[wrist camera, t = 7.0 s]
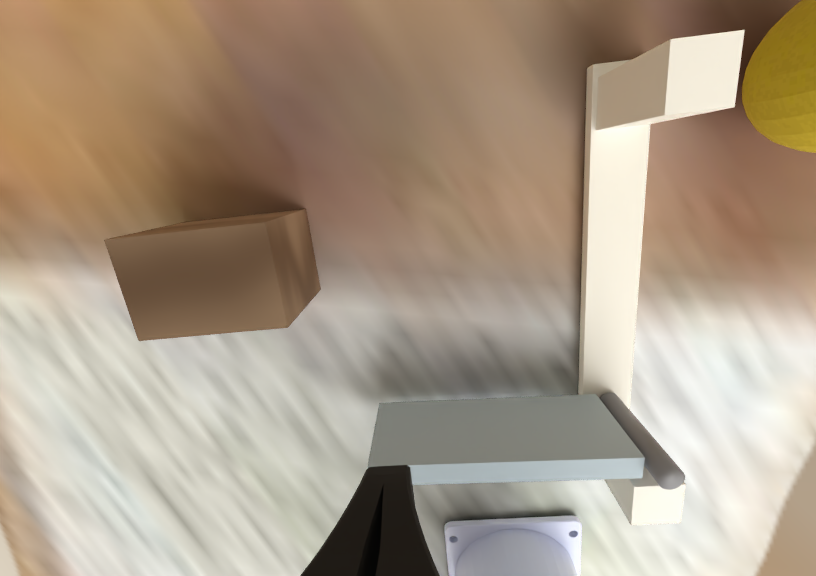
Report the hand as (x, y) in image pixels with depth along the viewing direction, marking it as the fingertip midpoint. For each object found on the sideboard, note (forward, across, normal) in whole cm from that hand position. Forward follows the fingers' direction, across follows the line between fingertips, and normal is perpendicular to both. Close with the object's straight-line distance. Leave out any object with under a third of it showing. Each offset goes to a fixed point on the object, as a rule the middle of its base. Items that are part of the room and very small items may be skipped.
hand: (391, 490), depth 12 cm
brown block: (+8, +7, -7) cm, 13 cm away
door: (+7, -5, +3) cm, 9 cm away
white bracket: (+8, -10, -4) cm, 14 cm away
